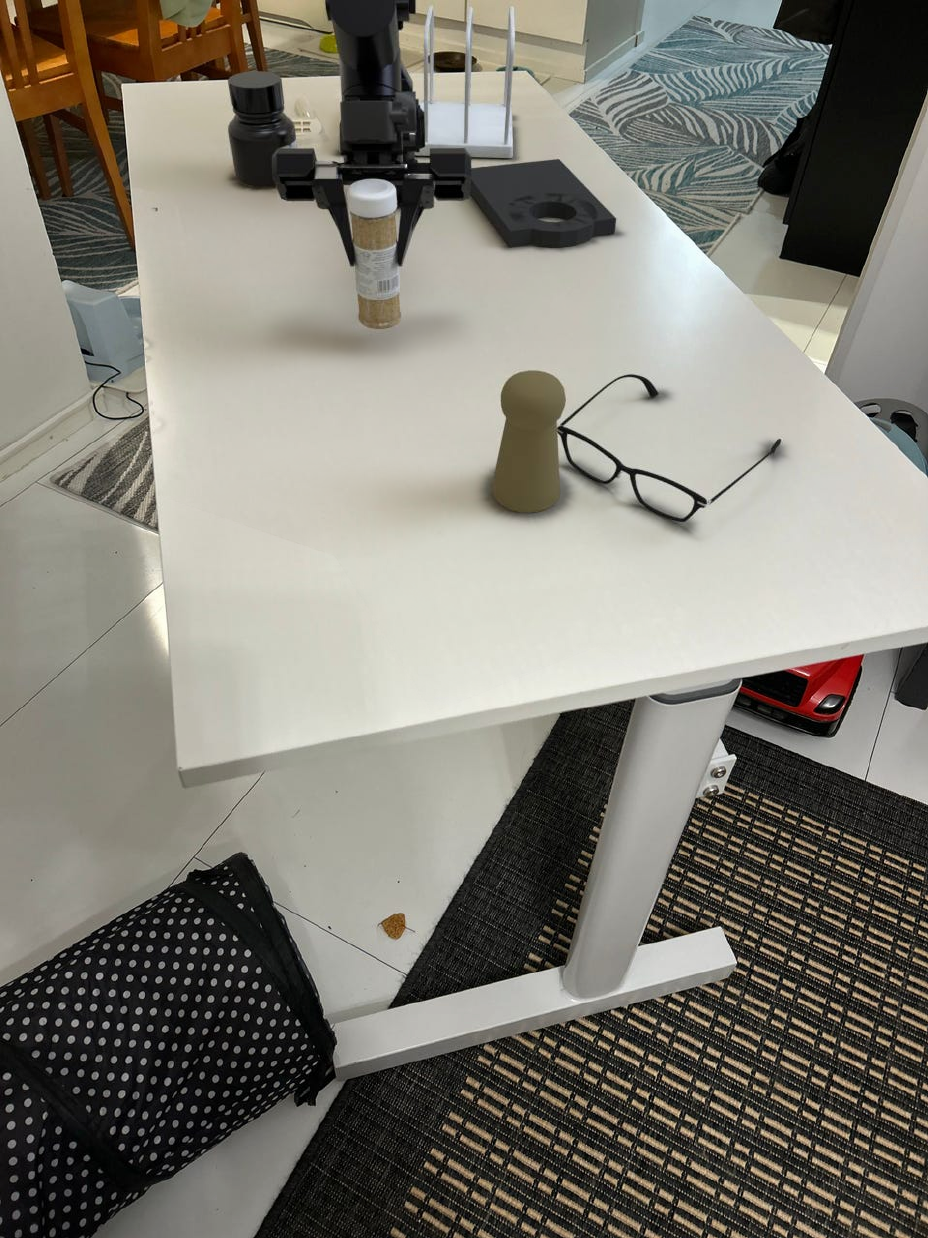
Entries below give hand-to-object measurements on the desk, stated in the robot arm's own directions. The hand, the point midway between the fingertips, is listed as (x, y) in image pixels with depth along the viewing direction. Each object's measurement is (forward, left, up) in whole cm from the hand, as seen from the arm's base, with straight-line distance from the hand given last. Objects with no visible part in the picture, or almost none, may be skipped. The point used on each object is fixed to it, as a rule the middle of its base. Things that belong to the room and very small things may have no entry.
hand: (375, 264), depth 87 cm
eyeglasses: (+32, -5, -9) cm, 34 cm away
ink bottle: (-36, +33, -9) cm, 49 cm away
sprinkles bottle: (-1, +1, -7) cm, 7 cm away
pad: (+1, +40, -9) cm, 41 cm away
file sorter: (-23, +57, -9) cm, 62 cm away
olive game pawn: (+22, -15, -9) cm, 29 cm away
